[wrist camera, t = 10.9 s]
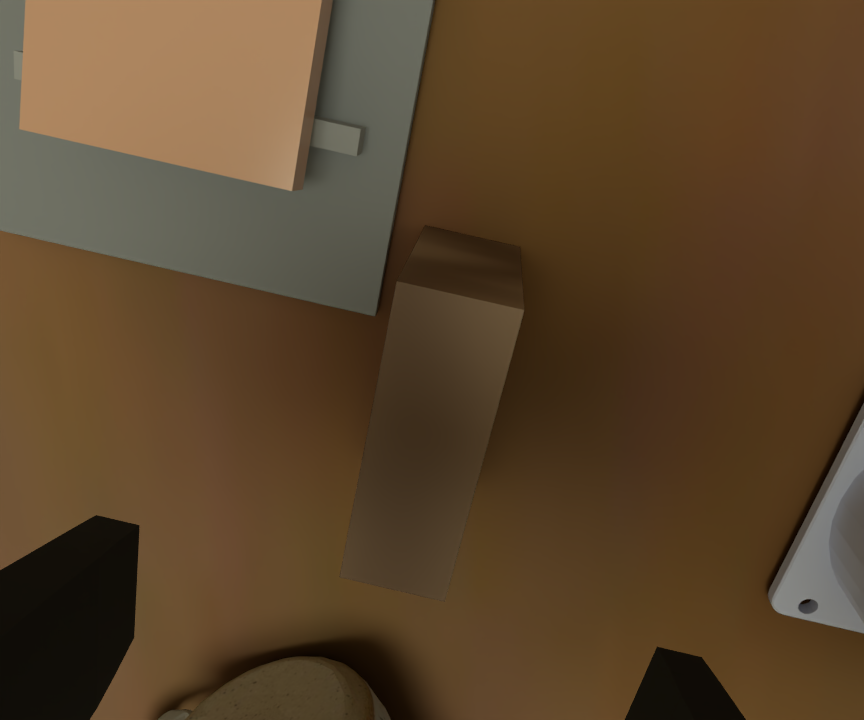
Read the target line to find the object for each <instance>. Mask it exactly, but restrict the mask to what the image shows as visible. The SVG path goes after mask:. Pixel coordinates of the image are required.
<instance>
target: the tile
mask: <svg viewBox="0 0 864 720" xmlns="http://www.w3.org/2000/svg"><path fill="white" fill-rule="evenodd" d="M332 3H333V0H25V20H24V41H23V61H22V82H21V103H20V123H19V129H21V130H25V131H29V132H34V133H38V134H43V135H47V136H51V137H56V138H60V139H65V140H69V141H73V142H78V143H82V144H87V145H91V146H95V147H100V148H104V149H109V150H113V151H117V152H122V153H126V154H131V155H135V156H139V157H144V158H148V159H153V160H157V161H161V162H166V163H170V164H175V165H179V166H183V167H188V168H192V169H197V170H201V171H205V172H210V173H214V174H219V175H223V176H227V177H232V178H236V179H241V180H245V181H249V182H254V183H258V184H263V185H267V186H271V187H276V188H280V189H285V190H289V191H297V190H303V184H304V177H305V171H306V165H307V159H308V152H309V146H310V140H311V134H312V128H313V121H314V115H315V109H316V103H317V96H318V90H319V84H320V78H321V71H322V65H323V59H324V53H325V46H326V40H327V34H328V28H329V22H330V15H331V9H332Z"/></svg>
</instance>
